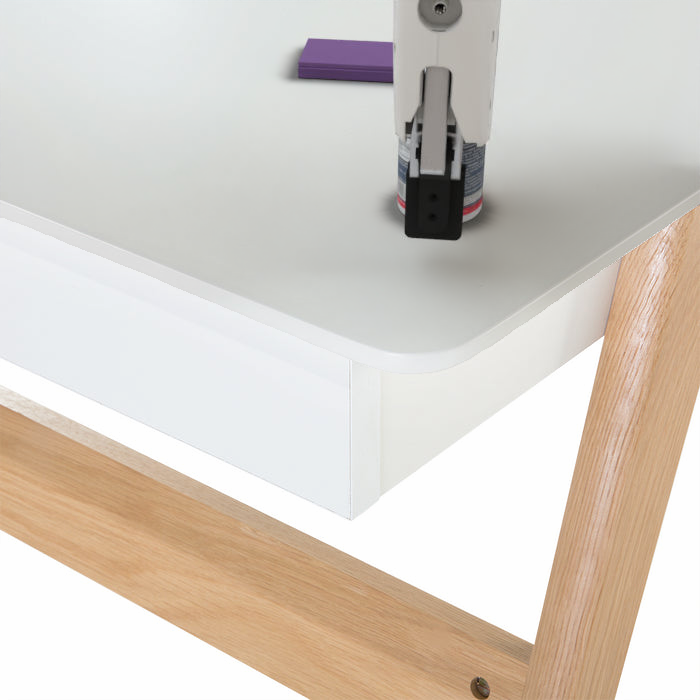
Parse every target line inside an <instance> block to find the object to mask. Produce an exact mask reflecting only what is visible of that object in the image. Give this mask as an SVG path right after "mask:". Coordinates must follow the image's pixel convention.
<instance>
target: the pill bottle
mask: <svg viewBox="0 0 700 700" xmlns="http://www.w3.org/2000/svg"><path fill="white" fill-rule="evenodd" d="M425 71H426V68H425ZM410 139H411V137H408V138H407V141H406V143H405V142H403V141H402V140H401V139H400V138H399V137H398V139H397V140H398V145H397V153H398V154H397V192H396V193H397V199H396V200H397V206H398V209H399V211H400V212H401V213H402V215H404V216H405V197H406V172H407V169H408V161H410ZM486 145H487V143H486V144H484V145H483V146H481V147H477V143H465V141H464V140H463V155H462V162H461V164H466V176H465V192H464V208H463V223H467V222H468V221H470V220H472V219H474V218H475V217H477V215H479V213H480V212H481V209H482V206H483V198H484V197H483V196H484V195H483V194H484V179H485V161H486Z"/></svg>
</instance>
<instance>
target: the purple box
mask: <svg viewBox="0 0 700 700" xmlns="http://www.w3.org/2000/svg"><path fill="white" fill-rule="evenodd" d="M297 78H299V79H300V78H301V79H318V80H322V79H324V80H338V81H339V80H340V81H341V80H342V81H362V82H379V83H381V82H382V83H393V41H380V40H379V41H376V40H357V39H355V40H354V39H334V38H333V39H332V38H313V37H312V38H311V37H308V38H307V40H306V42H305V45H304V47H303V50H302V52H301V55H300V57H299V60H298V61H297Z"/></svg>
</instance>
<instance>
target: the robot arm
mask: <svg viewBox="0 0 700 700" xmlns="http://www.w3.org/2000/svg"><path fill="white" fill-rule="evenodd" d="M501 9H502V0H393V14H392V15H393V17H392V18H393V19H392V27H393V28H392V42H393V82H392V84H393V85H392V86H393V108H394V109H393V115H394V134H395V136H396V137H398V139H399V138H400V139H401V140H402V141H403V142H405V143H406V141H407V138H408V137H411V139H410V161H408V169H407V172H406V197H405V215H404V228H403V229H404V235H405V236H406V237H407V238H409V239H423V240H435V241H436V240H437V241H453V242H454V241H455V242H456V241H459V240H460V239H461V238H462V232H463V223H464V222H463V208H464V192H465V176H466V164H461V162H462V155H463V140H464V141H465V143H477V147H481V146H483V145H484V144H486V145H487V143H488V142H489V140H490V139H491V132H492V120H493V111H494V110H493V108H494V99H495V86H496V74H497V57H498V50H499V37H500V24H501V23H500V21H501V20H500V19H501ZM425 68H426V71H425Z"/></svg>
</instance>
